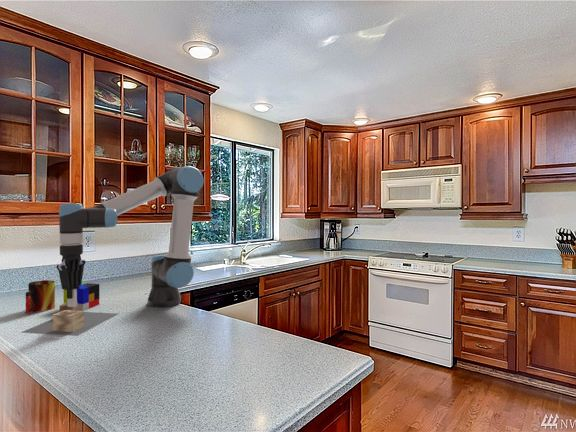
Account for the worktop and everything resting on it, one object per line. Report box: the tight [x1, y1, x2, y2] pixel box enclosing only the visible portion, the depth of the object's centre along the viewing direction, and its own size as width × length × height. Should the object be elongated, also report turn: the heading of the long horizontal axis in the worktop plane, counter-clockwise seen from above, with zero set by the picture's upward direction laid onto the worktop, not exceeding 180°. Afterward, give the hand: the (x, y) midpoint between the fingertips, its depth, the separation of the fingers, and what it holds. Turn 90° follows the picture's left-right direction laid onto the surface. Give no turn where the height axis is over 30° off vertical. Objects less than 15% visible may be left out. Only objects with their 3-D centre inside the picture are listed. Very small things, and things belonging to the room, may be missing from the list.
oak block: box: [52, 310, 85, 332], centre depth 135 cm, size 8×6×6 cm
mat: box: [21, 311, 119, 337], centre depth 143 cm, size 22×26×1 cm
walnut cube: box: [58, 302, 79, 312], centre depth 150 cm, size 5×5×5 cm
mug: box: [25, 279, 56, 315], centre depth 158 cm, size 10×14×12 cm
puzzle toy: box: [63, 282, 100, 312], centre depth 163 cm, size 10×10×10 cm
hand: (72, 306), depth 137 cm, fingers closed
